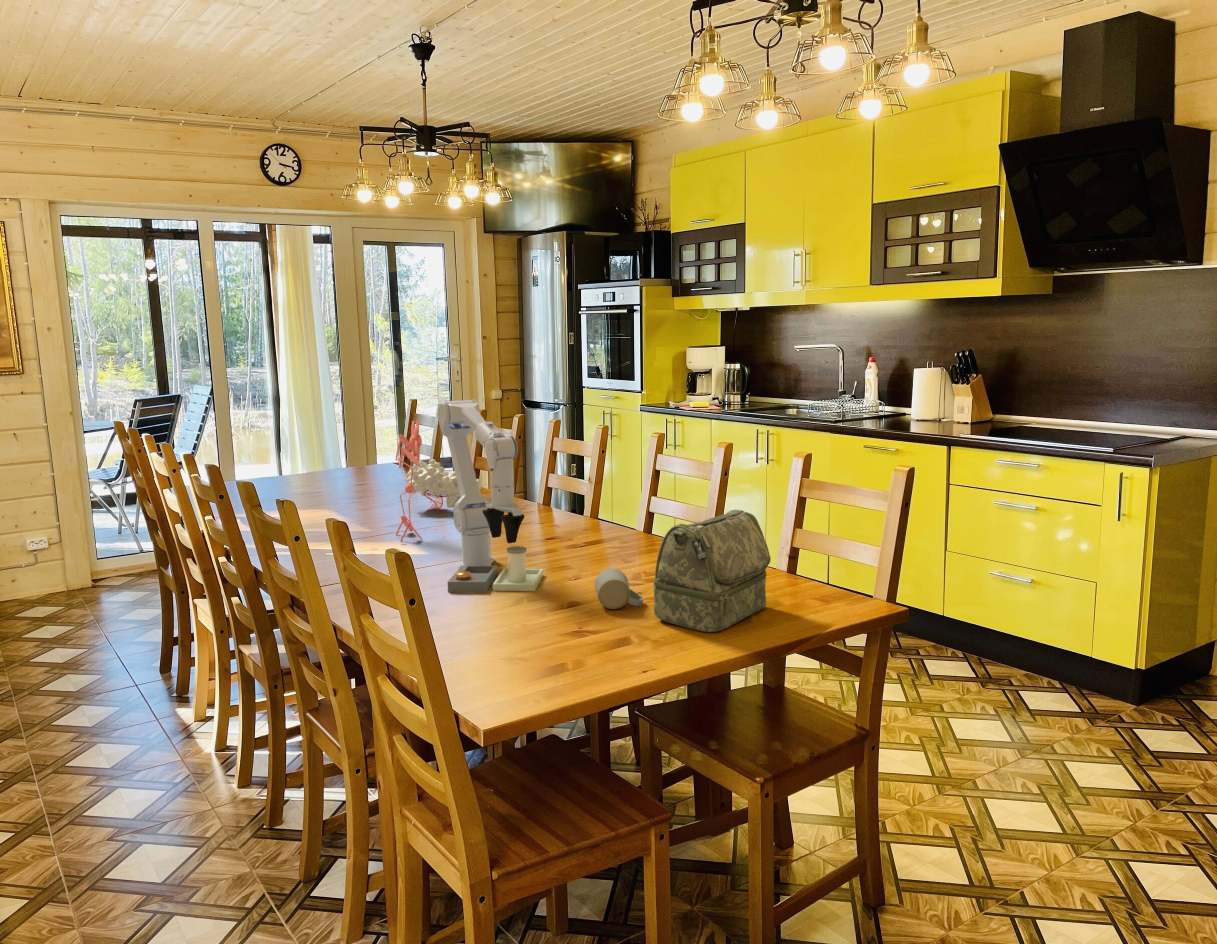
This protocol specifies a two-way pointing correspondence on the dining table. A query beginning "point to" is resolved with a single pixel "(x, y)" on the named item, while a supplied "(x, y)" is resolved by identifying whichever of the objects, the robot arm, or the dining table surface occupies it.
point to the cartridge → (516, 564)
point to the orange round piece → (463, 575)
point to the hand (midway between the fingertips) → (503, 539)
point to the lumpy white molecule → (435, 482)
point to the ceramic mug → (615, 590)
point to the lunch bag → (711, 572)
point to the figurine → (414, 457)
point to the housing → (473, 579)
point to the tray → (529, 585)
